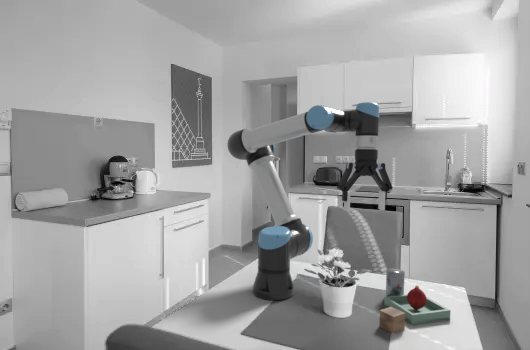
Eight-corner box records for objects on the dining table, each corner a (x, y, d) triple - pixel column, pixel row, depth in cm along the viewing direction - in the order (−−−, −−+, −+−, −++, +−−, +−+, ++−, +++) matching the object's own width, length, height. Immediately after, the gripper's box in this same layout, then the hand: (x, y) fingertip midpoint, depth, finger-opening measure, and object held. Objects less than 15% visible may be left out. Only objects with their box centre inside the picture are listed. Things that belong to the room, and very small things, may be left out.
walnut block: (379, 326, 105) (379, 310, 104) (390, 322, 107) (391, 306, 107) (393, 334, 100) (394, 316, 100) (404, 329, 103) (405, 313, 103)
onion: (428, 314, 111) (429, 290, 110) (408, 313, 112) (409, 288, 111) (423, 307, 116) (424, 283, 116) (405, 305, 118) (406, 281, 117)
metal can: (382, 296, 127) (383, 269, 126) (396, 294, 129) (397, 268, 128) (392, 303, 121) (393, 274, 121) (407, 301, 123) (408, 273, 122)
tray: (384, 305, 119) (384, 296, 119) (418, 301, 123) (419, 293, 123) (412, 324, 106) (412, 315, 105) (450, 319, 109) (450, 310, 109)
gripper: (338, 147, 113) (336, 213, 115) (404, 149, 120) (402, 210, 121) (328, 148, 121) (326, 209, 122) (391, 149, 127) (388, 207, 129)
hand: (364, 210), depth 122 cm, fingers open, 13 cm apart
